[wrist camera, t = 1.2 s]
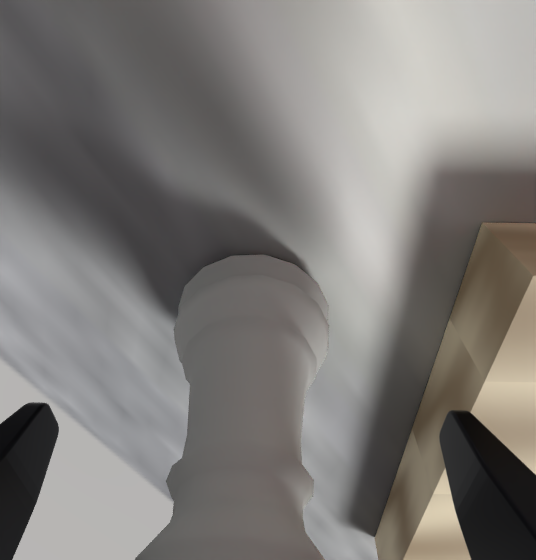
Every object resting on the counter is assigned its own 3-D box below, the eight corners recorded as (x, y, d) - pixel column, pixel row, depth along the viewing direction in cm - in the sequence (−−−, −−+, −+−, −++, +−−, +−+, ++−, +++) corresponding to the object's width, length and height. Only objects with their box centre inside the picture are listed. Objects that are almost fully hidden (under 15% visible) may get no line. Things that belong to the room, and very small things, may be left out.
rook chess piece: (158, 326, 13) (27, 674, 6) (223, 216, 10) (129, 575, 4) (277, 377, 14) (278, 713, 7) (357, 289, 12) (463, 655, 5)
